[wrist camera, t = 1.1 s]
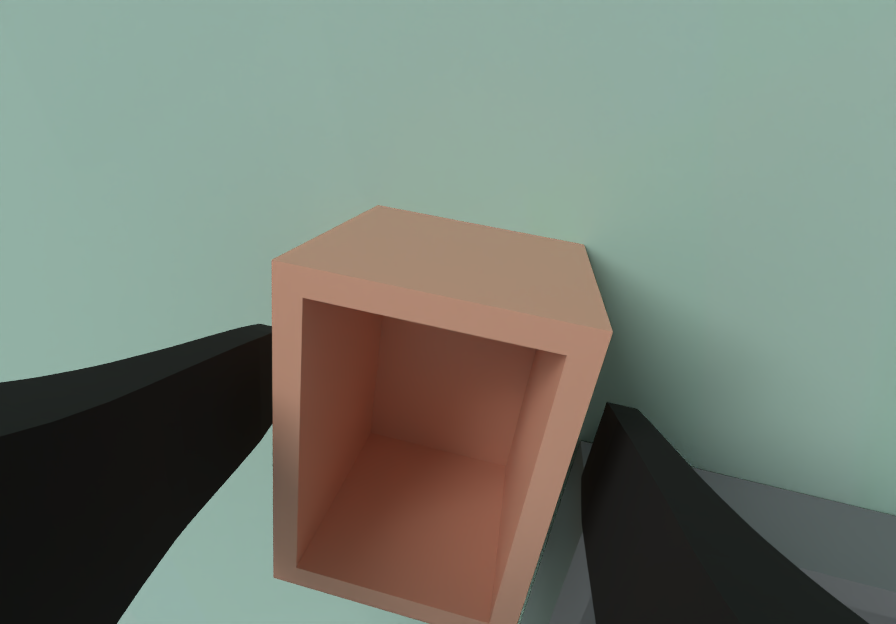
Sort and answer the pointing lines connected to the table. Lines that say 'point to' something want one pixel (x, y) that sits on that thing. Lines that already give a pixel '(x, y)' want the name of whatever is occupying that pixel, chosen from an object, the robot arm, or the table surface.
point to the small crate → (427, 409)
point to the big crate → (771, 515)
